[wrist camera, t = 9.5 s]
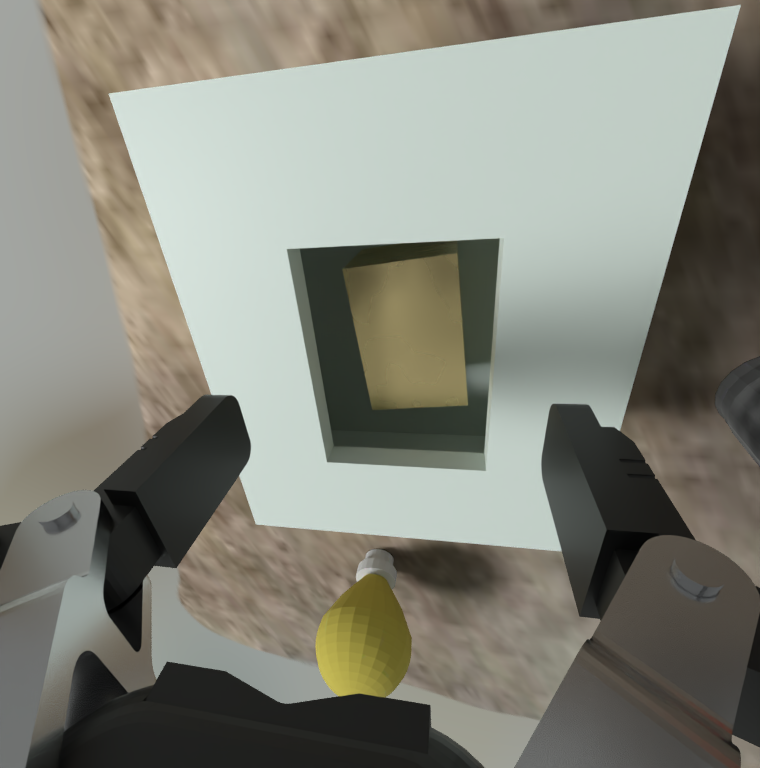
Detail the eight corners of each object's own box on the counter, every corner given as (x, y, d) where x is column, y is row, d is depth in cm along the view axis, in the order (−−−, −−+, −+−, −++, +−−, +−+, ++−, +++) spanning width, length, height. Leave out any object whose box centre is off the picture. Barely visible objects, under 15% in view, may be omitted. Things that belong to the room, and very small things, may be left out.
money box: (264, 122, 18) (108, 93, 10) (590, 84, 15) (740, 4, 7) (318, 409, 26) (256, 524, 18) (539, 416, 23) (584, 553, 15)
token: (362, 249, 17) (342, 269, 14) (456, 235, 16) (457, 253, 13) (384, 371, 20) (372, 410, 17) (465, 365, 19) (468, 405, 16)
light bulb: (432, 576, 33) (424, 723, 24) (365, 587, 35) (336, 724, 27) (396, 523, 30) (373, 667, 22) (326, 540, 33) (281, 674, 24)
